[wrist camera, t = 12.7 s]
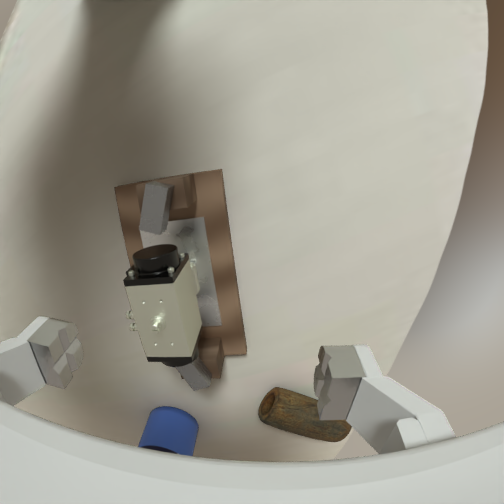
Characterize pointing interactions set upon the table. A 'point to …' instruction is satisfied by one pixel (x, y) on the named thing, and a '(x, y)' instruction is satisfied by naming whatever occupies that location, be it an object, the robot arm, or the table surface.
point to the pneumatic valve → (165, 304)
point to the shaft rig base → (220, 246)
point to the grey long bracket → (196, 245)
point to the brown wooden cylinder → (300, 416)
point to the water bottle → (170, 431)
